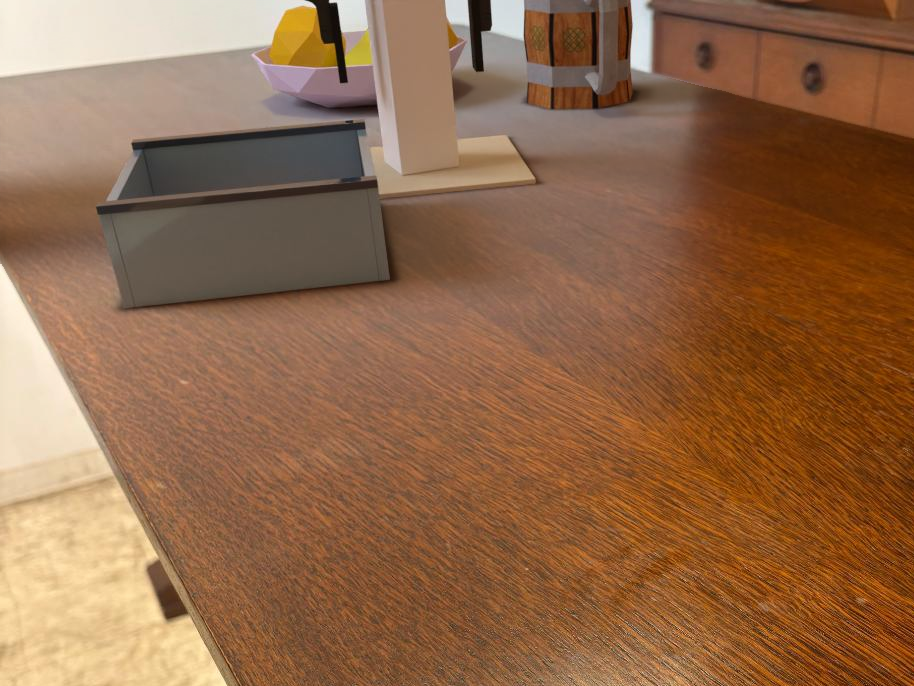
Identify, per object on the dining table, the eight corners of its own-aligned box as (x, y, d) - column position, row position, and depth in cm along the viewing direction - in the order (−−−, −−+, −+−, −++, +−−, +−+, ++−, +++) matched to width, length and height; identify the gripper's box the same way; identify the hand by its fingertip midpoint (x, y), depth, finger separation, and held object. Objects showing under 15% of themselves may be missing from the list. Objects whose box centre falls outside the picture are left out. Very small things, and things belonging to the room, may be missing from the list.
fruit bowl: (386, 128, 124) (373, 19, 118) (217, 110, 137) (197, 11, 130) (517, 79, 144) (512, -16, 137) (359, 67, 156) (347, -21, 150)
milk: (459, 167, 107) (439, -91, 94) (400, 176, 105) (372, -86, 92) (439, 153, 111) (417, -95, 99) (382, 162, 109) (353, -90, 97)
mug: (514, 92, 137) (506, -42, 128) (616, 82, 139) (615, -51, 131) (553, 126, 121) (547, -24, 113) (668, 114, 123) (671, -35, 115)
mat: (322, 205, 100) (321, 199, 99) (319, 156, 115) (318, 151, 114) (535, 184, 102) (535, 178, 102) (506, 139, 117) (506, 134, 117)
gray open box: (123, 310, 80) (95, 206, 76) (154, 228, 96) (132, 139, 92) (390, 281, 82) (377, 179, 78) (375, 206, 99) (364, 118, 94)
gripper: (233, -191, 87) (281, 93, 99) (533, -207, 90) (544, 71, 102) (238, -190, 93) (282, 78, 105) (518, -204, 96) (530, 57, 108)
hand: (411, 75), depth 103 cm, fingers open, 12 cm apart
